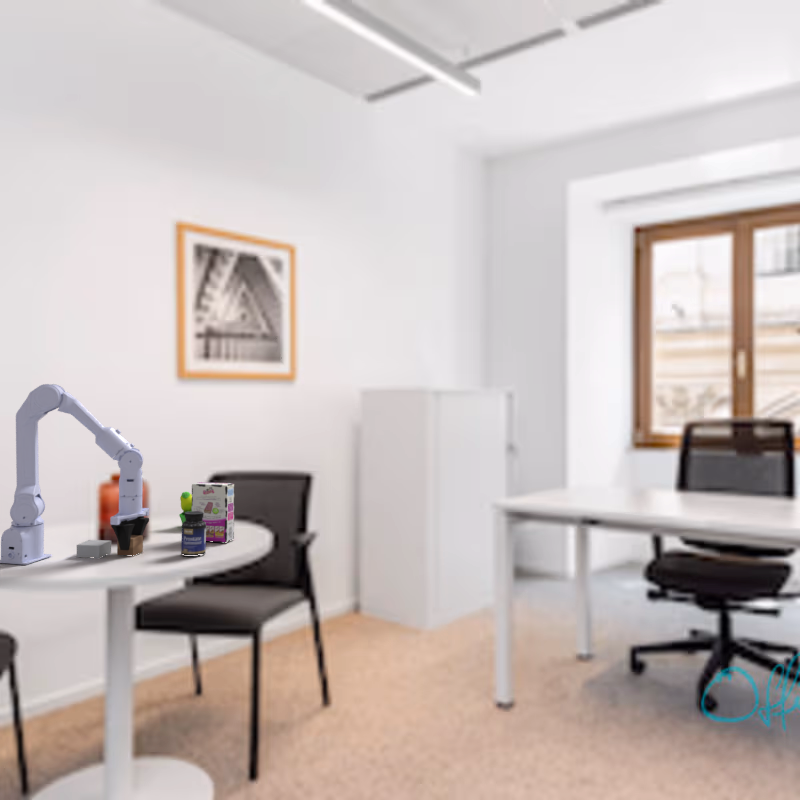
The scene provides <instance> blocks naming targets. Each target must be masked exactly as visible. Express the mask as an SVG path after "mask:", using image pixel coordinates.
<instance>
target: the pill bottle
mask: <svg viewBox="0 0 800 800" xmlns="http://www.w3.org/2000/svg"><path fill="white" fill-rule="evenodd" d="M203 517H204V513H203V512H201V511H190V512H185V518H186V521H185V522H183V523H182V522H181V547H180V548H181V550H180V551H181V552H180V555H182V554H184V555H198V554H204V553H205V554H206V549H207V546H206V543H207V542H206V523H205V522H204V521H203Z"/></svg>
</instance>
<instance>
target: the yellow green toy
mask: <svg viewBox="0 0 800 800" xmlns="http://www.w3.org/2000/svg"><path fill="white" fill-rule="evenodd" d="M179 501H180V507H181V510H182V511H183V512H181V513H180V514H179V515H178V517H179V518H180V520H181V521H180V522H181V524H182V523H183V522H185V521H186V518H185V512H190V511H192V493H190V492H189V491H183V492H181V494H180V499H179Z"/></svg>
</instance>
